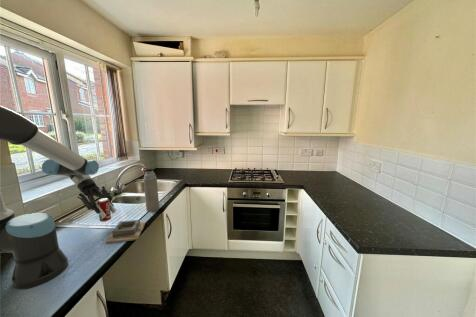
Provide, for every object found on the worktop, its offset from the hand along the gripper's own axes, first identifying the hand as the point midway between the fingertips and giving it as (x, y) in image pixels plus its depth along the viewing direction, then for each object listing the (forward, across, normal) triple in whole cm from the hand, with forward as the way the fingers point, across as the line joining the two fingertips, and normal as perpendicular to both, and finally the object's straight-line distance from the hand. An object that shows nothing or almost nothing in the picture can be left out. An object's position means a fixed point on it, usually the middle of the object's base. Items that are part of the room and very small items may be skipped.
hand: (109, 214), depth 102 cm
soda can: (0, 0, -6) cm, 6 cm away
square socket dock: (+14, 0, +2) cm, 14 cm away
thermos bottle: (+9, -27, -3) cm, 29 cm away
